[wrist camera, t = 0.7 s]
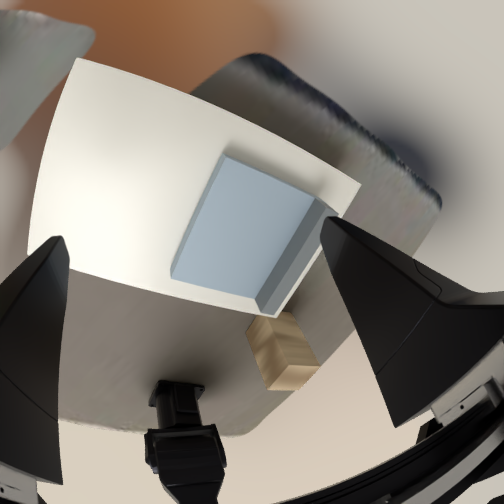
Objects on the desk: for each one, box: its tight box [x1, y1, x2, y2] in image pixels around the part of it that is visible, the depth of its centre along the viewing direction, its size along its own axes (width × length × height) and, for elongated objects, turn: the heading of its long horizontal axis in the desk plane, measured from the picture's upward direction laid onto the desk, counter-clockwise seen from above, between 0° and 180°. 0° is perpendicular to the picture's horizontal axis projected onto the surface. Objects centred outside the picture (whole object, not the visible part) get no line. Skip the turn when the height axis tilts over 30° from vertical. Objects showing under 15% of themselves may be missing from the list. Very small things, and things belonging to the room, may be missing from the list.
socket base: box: [27, 58, 361, 318], centre depth 21 cm, size 14×22×4 cm, turn 62°
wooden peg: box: [246, 311, 321, 390], centre depth 30 cm, size 4×4×8 cm
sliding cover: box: [170, 153, 339, 315], centre depth 20 cm, size 9×8×3 cm
